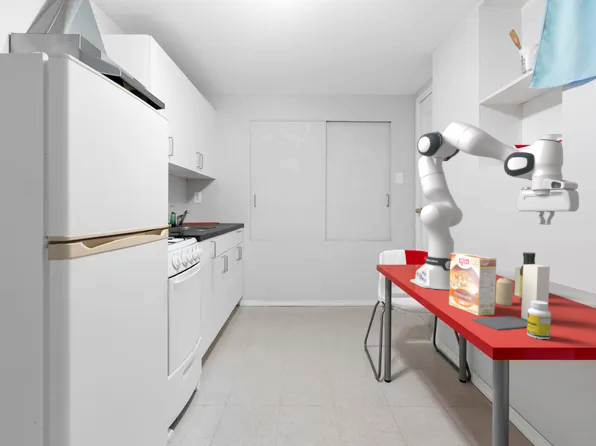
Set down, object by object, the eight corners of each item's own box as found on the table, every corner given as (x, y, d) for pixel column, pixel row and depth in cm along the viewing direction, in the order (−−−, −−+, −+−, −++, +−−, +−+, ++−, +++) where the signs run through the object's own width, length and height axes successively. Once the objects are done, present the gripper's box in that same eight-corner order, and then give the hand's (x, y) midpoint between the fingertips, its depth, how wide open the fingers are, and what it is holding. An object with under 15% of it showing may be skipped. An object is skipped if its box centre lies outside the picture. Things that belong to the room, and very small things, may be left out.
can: (527, 298, 144) (528, 269, 144) (508, 293, 153) (509, 266, 153) (545, 298, 146) (546, 269, 146) (526, 293, 155) (527, 266, 155)
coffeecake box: (448, 304, 132) (449, 253, 131) (464, 303, 134) (465, 252, 133) (477, 316, 117) (479, 258, 117) (495, 315, 119) (497, 257, 119)
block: (521, 319, 115) (523, 264, 114) (532, 318, 116) (535, 264, 116) (535, 323, 110) (537, 266, 110) (547, 322, 112) (549, 266, 111)
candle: (514, 306, 132) (515, 279, 131) (498, 305, 133) (499, 278, 133) (508, 302, 137) (509, 277, 137) (493, 301, 138) (494, 276, 138)
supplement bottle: (522, 332, 101) (524, 299, 101) (542, 334, 100) (544, 300, 100) (533, 339, 96) (534, 304, 95) (554, 340, 95) (556, 305, 95)
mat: (471, 320, 112) (471, 318, 112) (510, 317, 117) (511, 315, 117) (497, 330, 103) (497, 328, 103) (539, 326, 107) (539, 325, 107)
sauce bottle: (531, 301, 140) (533, 251, 140) (541, 305, 134) (544, 253, 133) (515, 300, 140) (517, 251, 140) (525, 304, 134) (527, 253, 134)
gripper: (513, 186, 132) (512, 223, 133) (569, 182, 113) (567, 225, 113) (526, 187, 134) (525, 223, 135) (583, 183, 115) (581, 225, 115)
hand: (544, 224), depth 124 cm, fingers closed
